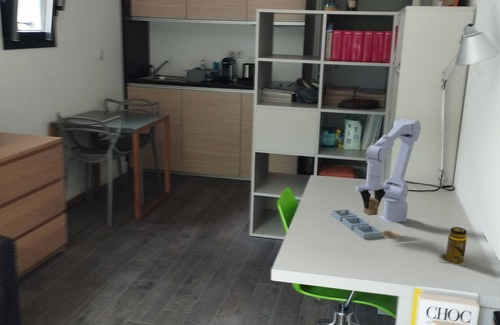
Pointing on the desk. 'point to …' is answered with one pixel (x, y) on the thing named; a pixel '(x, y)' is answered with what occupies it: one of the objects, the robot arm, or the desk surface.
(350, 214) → the dish
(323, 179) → the desk surface
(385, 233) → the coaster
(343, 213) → the grey ball
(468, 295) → the desk surface
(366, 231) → the dish
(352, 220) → the dish
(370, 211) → the letter block
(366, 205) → the robot arm
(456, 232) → the condiment
